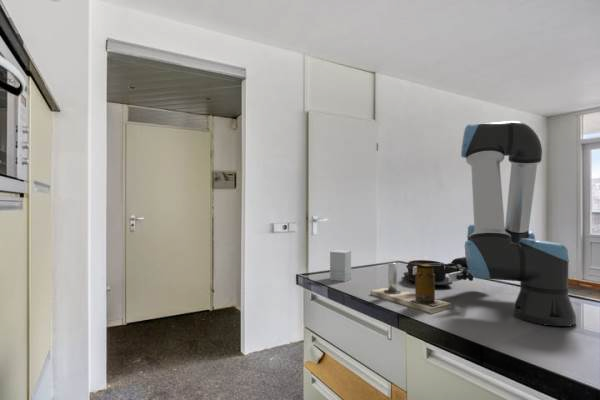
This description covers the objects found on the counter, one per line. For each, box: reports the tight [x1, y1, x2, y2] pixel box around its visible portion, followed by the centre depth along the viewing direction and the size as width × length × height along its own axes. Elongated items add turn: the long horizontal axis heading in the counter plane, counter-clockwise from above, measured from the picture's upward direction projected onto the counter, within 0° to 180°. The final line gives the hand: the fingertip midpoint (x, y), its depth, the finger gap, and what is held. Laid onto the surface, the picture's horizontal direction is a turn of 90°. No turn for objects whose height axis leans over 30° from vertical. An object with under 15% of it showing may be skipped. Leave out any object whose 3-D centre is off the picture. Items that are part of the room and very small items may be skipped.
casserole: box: [402, 259, 454, 286], centre depth 148 cm, size 25×19×8 cm
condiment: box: [411, 264, 445, 306], centre depth 113 cm, size 7×8×12 cm
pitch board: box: [370, 286, 452, 314], centre depth 119 cm, size 26×10×2 cm, turn 34°
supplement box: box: [329, 249, 352, 282], centre depth 152 cm, size 7×7×13 cm
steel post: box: [387, 262, 398, 293], centre depth 125 cm, size 3×3×12 cm
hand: (430, 274), depth 115 cm, fingers open, 13 cm apart
